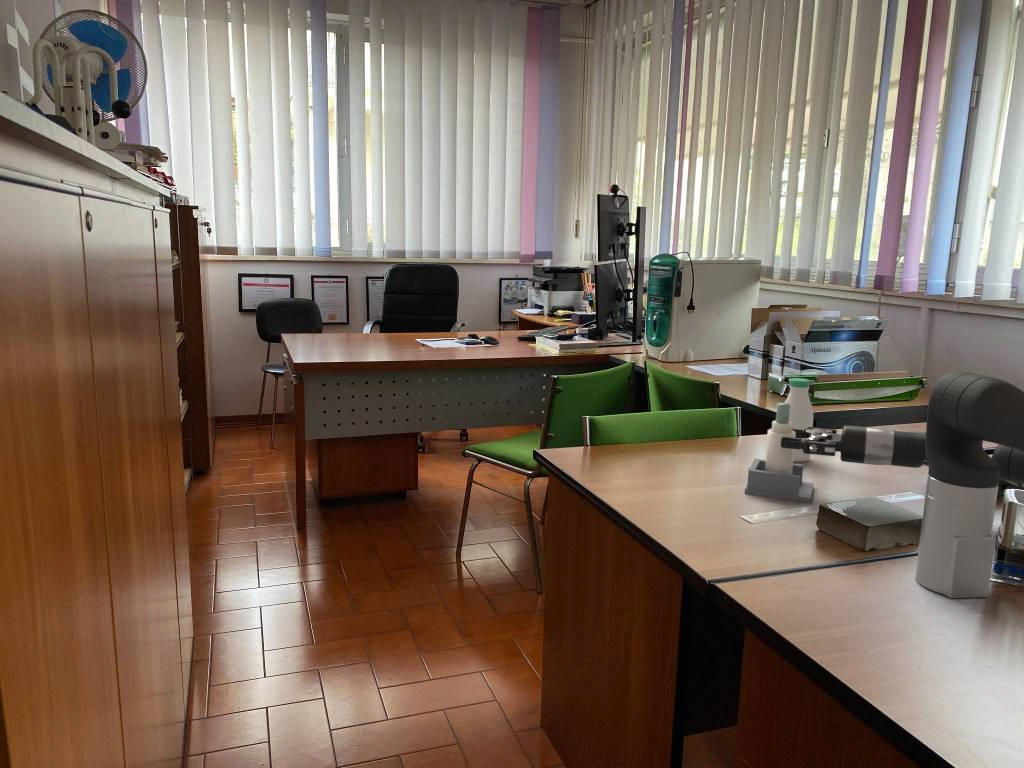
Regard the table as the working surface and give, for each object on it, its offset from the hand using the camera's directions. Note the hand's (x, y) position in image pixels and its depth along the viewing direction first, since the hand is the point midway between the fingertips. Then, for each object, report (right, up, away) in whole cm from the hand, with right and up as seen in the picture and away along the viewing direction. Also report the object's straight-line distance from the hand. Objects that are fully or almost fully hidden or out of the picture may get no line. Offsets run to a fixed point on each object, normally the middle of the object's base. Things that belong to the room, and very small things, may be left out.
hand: (782, 437), depth 157 cm
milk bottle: (+13, -7, +27) cm, 31 cm away
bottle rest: (0, -12, +2) cm, 12 cm away
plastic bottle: (0, -11, +2) cm, 11 cm away
